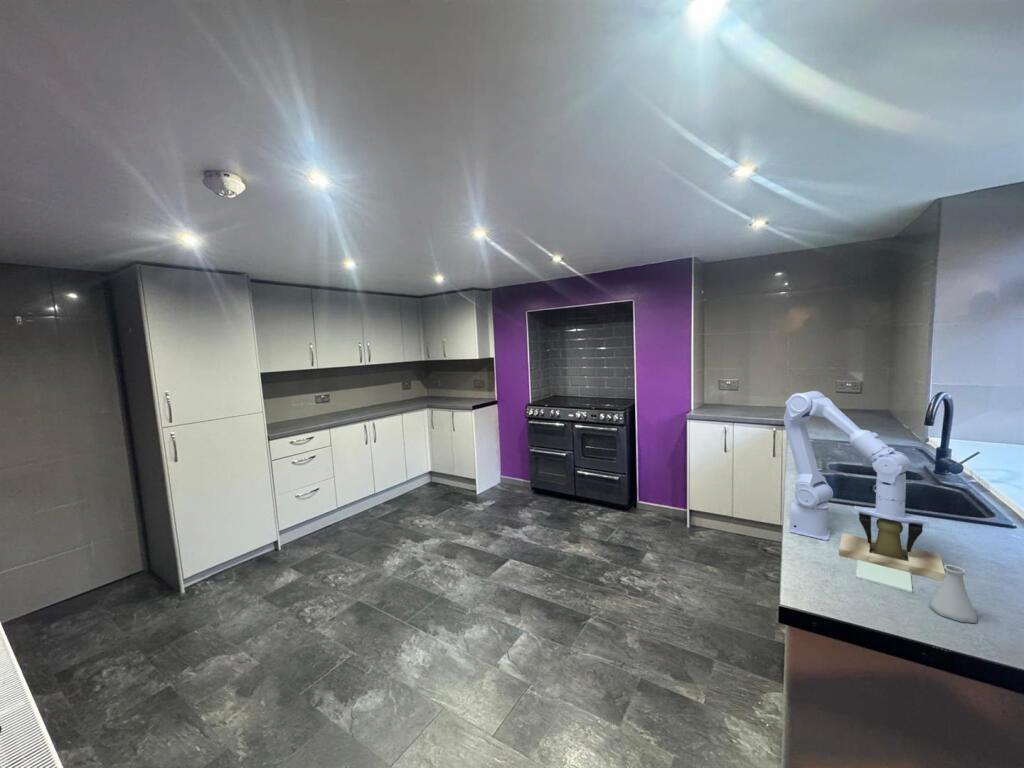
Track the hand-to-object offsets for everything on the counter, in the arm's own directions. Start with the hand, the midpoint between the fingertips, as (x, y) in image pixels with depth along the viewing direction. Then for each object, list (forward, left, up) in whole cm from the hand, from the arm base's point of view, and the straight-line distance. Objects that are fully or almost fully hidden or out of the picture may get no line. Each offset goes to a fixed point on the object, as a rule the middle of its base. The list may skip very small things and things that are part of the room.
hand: (888, 546), depth 108 cm
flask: (+10, -21, -4) cm, 24 cm away
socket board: (0, 0, -3) cm, 3 cm away
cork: (0, 0, -4) cm, 4 cm away
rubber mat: (-1, -12, -3) cm, 13 cm away
